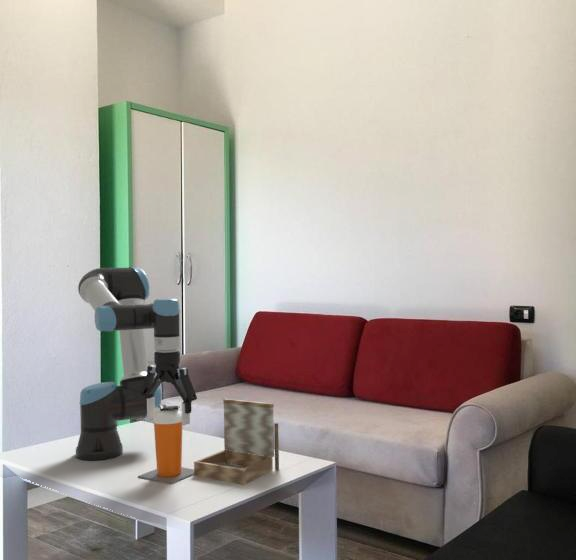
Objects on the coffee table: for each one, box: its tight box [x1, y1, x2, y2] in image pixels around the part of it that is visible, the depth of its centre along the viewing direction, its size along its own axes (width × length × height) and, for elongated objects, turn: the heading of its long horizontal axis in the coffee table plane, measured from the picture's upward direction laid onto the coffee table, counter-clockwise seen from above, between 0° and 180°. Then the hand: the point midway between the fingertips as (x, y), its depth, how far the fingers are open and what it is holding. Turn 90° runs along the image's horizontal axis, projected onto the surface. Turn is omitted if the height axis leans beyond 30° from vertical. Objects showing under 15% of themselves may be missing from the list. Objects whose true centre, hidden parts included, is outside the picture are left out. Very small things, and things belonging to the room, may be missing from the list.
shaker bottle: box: [152, 404, 183, 477], centre depth 198 cm, size 9×9×20 cm
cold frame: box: [193, 398, 280, 485], centre depth 199 cm, size 19×17×20 cm
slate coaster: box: [137, 466, 195, 485], centre depth 198 cm, size 13×13×1 cm
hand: (168, 421), depth 198 cm, fingers open, 13 cm apart
